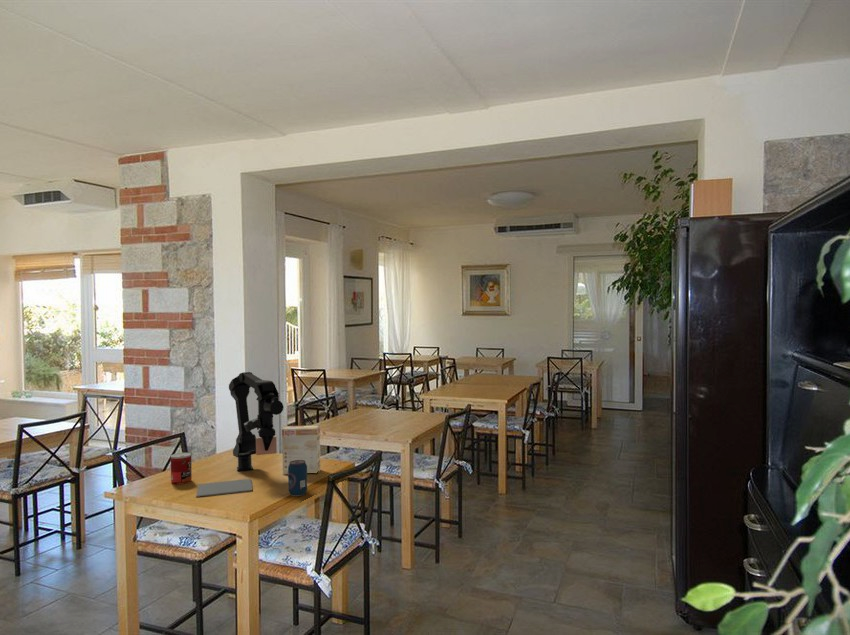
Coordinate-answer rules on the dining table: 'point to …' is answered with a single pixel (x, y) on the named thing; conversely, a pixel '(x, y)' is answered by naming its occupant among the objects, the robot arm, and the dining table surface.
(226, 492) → the mat
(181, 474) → the canned food
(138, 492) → the dining table surface
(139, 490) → the dining table surface
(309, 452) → the coffeecake box
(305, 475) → the soda can
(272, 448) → the slab
